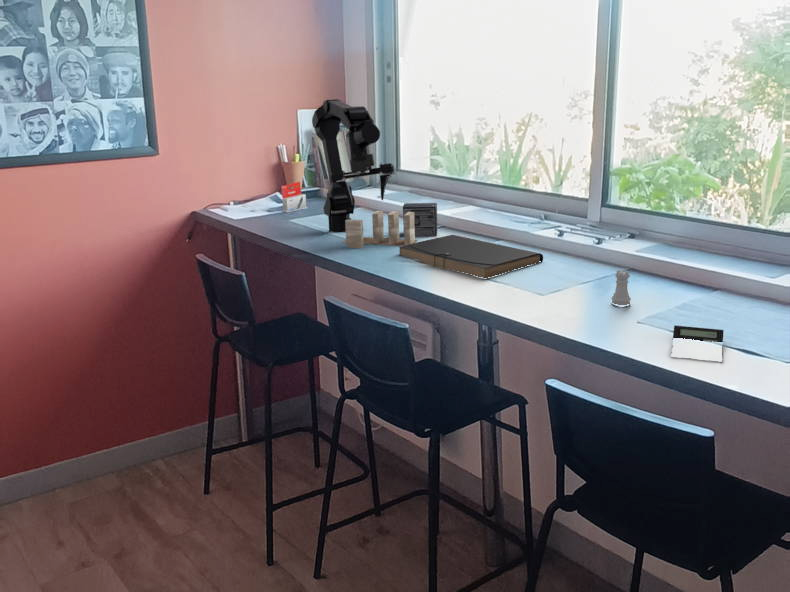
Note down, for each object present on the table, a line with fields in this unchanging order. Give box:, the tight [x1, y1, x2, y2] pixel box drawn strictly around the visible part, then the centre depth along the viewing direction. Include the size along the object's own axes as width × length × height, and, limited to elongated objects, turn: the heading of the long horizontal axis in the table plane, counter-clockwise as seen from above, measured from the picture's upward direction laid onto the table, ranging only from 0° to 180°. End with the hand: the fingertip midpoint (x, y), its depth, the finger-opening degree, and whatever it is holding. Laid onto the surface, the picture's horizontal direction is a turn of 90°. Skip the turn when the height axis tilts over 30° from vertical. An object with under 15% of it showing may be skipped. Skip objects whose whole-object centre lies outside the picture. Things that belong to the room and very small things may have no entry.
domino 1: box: [345, 218, 365, 249], centre depth 242 cm, size 2×5×9 cm, turn 72°
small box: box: [402, 202, 438, 238], centre depth 255 cm, size 11×6×10 cm, turn 84°
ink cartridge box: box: [280, 181, 307, 213], centre depth 302 cm, size 2×11×10 cm, turn 147°
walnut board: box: [342, 236, 419, 247], centre depth 249 cm, size 22×8×1 cm, turn 72°
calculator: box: [672, 325, 724, 343], centre depth 160 cm, size 9×12×3 cm
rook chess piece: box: [611, 269, 632, 305], centre depth 187 cm, size 4×4×8 cm
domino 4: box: [403, 212, 416, 245], centre depth 245 cm, size 2×5×9 cm, turn 162°
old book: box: [399, 234, 544, 278], centre depth 228 cm, size 33×4×24 cm
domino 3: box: [387, 210, 400, 244], centre depth 247 cm, size 2×5×9 cm, turn 162°
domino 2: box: [371, 210, 385, 243], centre depth 248 cm, size 2×5×9 cm, turn 162°
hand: (367, 202), depth 240 cm, fingers open, 9 cm apart
